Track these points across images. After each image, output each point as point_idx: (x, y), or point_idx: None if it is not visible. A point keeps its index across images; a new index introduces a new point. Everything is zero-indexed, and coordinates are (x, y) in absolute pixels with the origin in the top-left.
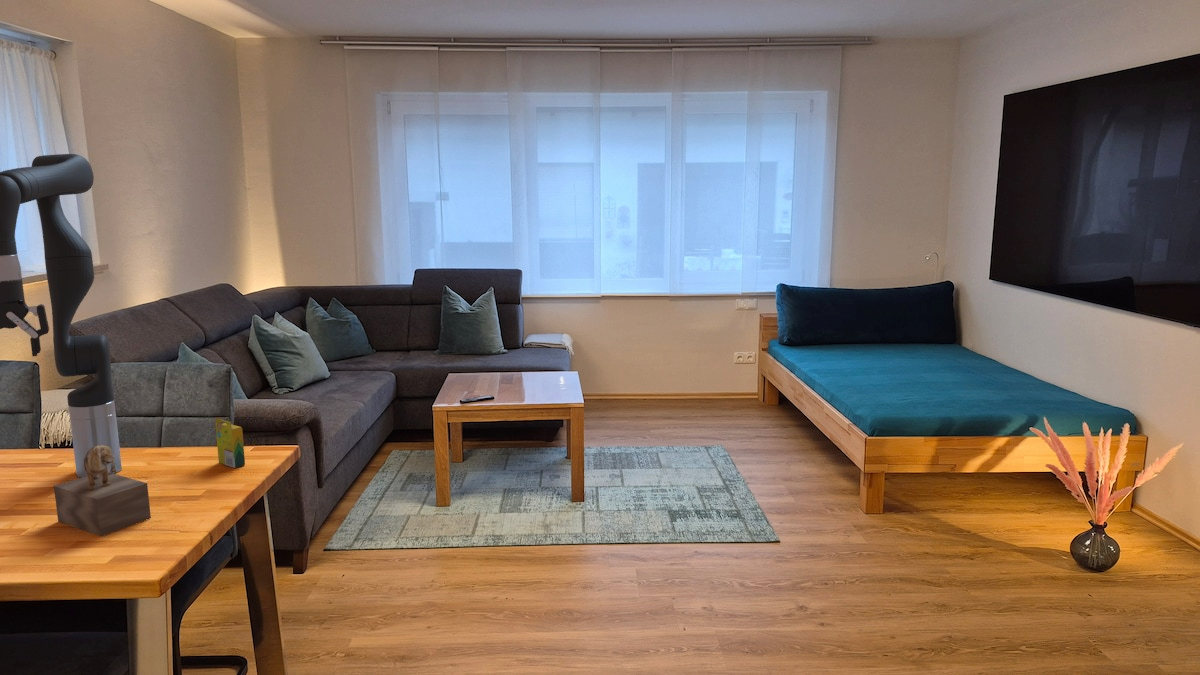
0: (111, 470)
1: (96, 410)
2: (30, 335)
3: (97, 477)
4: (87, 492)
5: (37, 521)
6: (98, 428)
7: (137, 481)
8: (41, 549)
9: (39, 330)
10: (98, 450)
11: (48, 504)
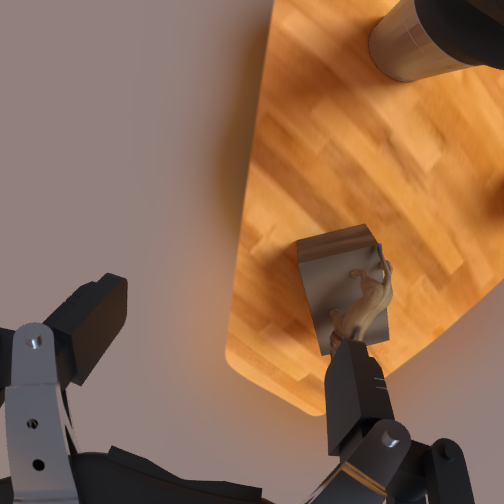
0: (382, 268)
1: (457, 65)
2: (330, 477)
3: (356, 278)
4: (323, 325)
5: (276, 218)
6: (437, 69)
7: (385, 326)
8: (260, 315)
9: (387, 492)
10: None
11: (304, 151)
